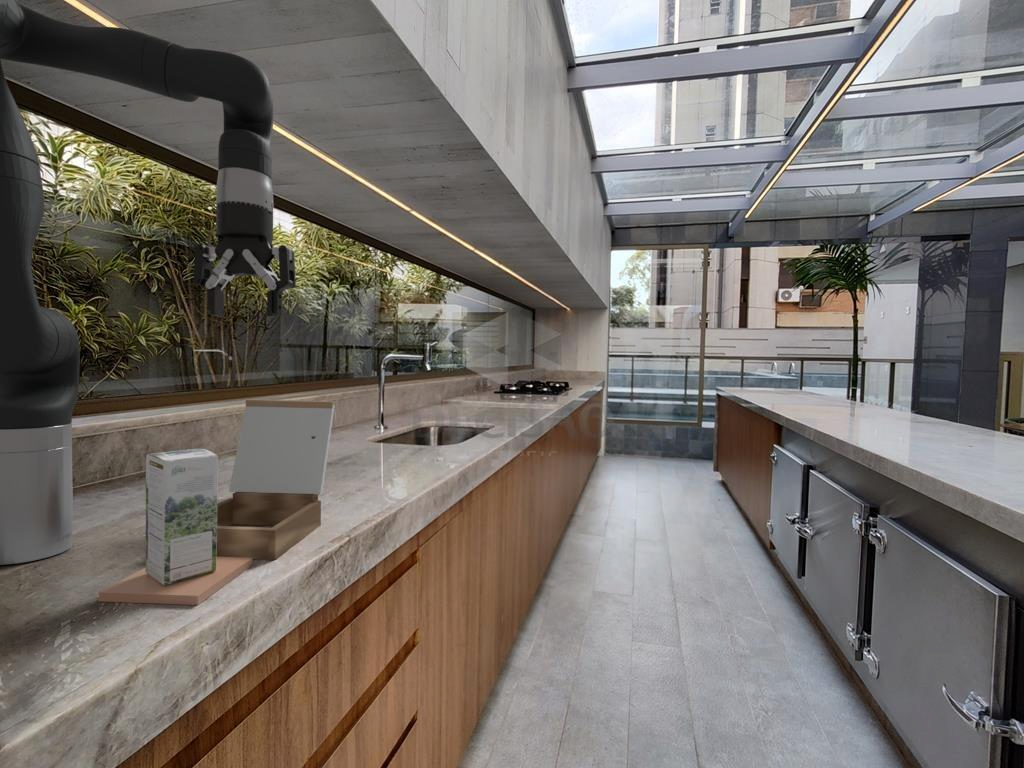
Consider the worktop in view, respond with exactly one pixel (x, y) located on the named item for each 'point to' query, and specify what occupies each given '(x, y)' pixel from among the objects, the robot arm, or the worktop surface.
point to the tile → (176, 585)
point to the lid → (283, 447)
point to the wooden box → (265, 523)
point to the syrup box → (181, 514)
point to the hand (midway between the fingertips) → (245, 316)
